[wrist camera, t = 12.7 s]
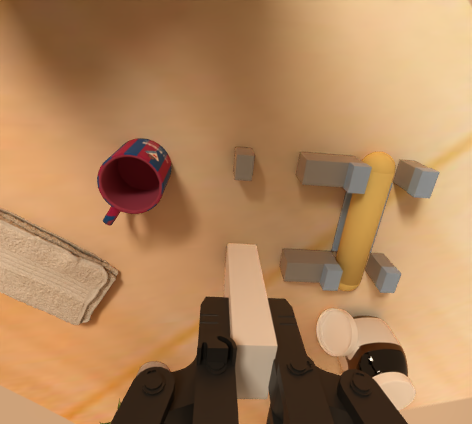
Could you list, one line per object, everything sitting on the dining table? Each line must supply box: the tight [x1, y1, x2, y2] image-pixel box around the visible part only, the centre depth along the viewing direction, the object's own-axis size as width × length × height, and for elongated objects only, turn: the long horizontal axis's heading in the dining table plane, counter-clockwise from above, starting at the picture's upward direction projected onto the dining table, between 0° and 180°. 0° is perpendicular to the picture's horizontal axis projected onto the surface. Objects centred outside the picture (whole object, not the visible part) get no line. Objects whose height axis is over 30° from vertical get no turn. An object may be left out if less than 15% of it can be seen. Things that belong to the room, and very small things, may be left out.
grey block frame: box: [225, 147, 439, 293], centre depth 41 cm, size 17×23×5 cm
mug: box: [97, 139, 172, 225], centre depth 37 cm, size 7×10×7 cm
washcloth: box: [0, 208, 119, 325], centre depth 44 cm, size 12×18×3 cm, turn 55°
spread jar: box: [316, 308, 416, 411], centre depth 47 cm, size 12×11×12 cm
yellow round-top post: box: [335, 152, 395, 291], centre depth 42 cm, size 20×4×4 cm, turn 175°
